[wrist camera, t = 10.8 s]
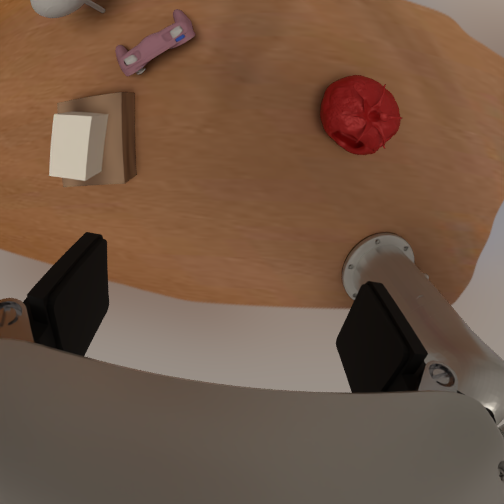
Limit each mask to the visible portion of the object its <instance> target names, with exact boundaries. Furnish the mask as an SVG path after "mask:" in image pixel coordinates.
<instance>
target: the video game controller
mask: <svg viewBox="0 0 504 504" xmlns="http://www.w3.org/2000/svg"><path fill="white" fill-rule="evenodd" d="M173 17H174V20H175V23H174V24H172V25H170V26H168V27H166V28H165V29H163V30H161V31H160V32H157V33H153V34H151V35H149V36H147V37H145V38H144V39H143V40H142V41H141V42H140V43H139V44H138V45H137V46H136V47H134V48H133V49H131V50H130V51H127V49H126V48H125V47H124V46H123V45H118V46H117V47H116V56H117V60H118V63H119V65H120V67H121V70H122V71H123V72H124V74H125V75H126V76H130V75H132V74H134V73H135V72H138V73H137V74H141V73H143V72H144V70H145V68H143V67H144V66H145V65H146V64H147V63H148V62H149V61H150V60H151V59H153V58H155V57H156V56H158V55H160V54H161V53H163V52H164V51H166V50H168V49H172V48H175V47H177V46H179V45H181V44H183V43H185V42H187V41H188V40H190V39H191V38H193V37H194V36H195V32H194V31H193V27H192V24H191V21H190V20H189V18H188V17H187V16H186V15H185V14H184V13H183V12H182V11H181V10H178V9H176V10H174V12H173Z"/></svg>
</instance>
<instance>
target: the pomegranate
mask: <svg viewBox="0 0 504 504" xmlns="http://www.w3.org/2000/svg"><path fill="white" fill-rule="evenodd" d="M385 85H386V84H385ZM385 85H384V86H382V85H381V84H380V83H379V82H377V81H375V80H373V79H370V78H367V77H364V76H361V75H353V76H348V77H345V78H342V79H340V80H338V81H336V82H334V83H332V84H331V85H330V86H329V87H328V88H327V89H326V91H325V93H324V98H323V100H322V104H321V112H320V117H321V121H322V124H323V127H324V129H325V132H326V133H327V134H328V135H329V136H330V137H331V138H332V139H333V140H334V141H335V142H336V143H337V144H338V145H340V146H341V147H343V148H344V149H345V150H346V151H348V152H350V153H353V154H357V155H367V154H374V153H375V152H376V151H378V149H379V148H380V147H382V146H383V148H385V147H384V145H385V143H386V142H387V141H388V140H389V139H391V137H392V136H393V135H395V134H396V133H397V131H398V129H399V126H400V119H402V118H401V117H400V114H399V108H398V105H397V103H396V101H395V99H394V97H393V95H392V94H391V93H390V92H389V91H388V90H386V89H385Z"/></svg>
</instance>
